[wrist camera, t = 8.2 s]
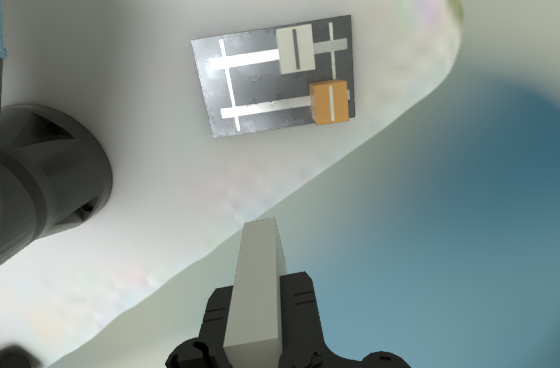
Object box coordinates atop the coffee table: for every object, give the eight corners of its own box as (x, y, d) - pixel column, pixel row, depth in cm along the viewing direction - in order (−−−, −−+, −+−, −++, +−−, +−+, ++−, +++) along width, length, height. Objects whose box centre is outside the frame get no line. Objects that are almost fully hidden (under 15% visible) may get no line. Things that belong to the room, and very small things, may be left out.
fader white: (280, 73, 30) (282, 74, 26) (275, 34, 29) (276, 29, 24) (309, 68, 30) (315, 69, 26) (306, 29, 29) (311, 23, 24)
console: (216, 134, 34) (213, 138, 33) (194, 41, 30) (190, 40, 29) (351, 115, 34) (355, 117, 32) (347, 17, 30) (350, 14, 28)
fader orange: (312, 117, 32) (317, 125, 28) (308, 83, 30) (313, 86, 26) (339, 113, 32) (349, 120, 28) (337, 78, 30) (346, 81, 26)
